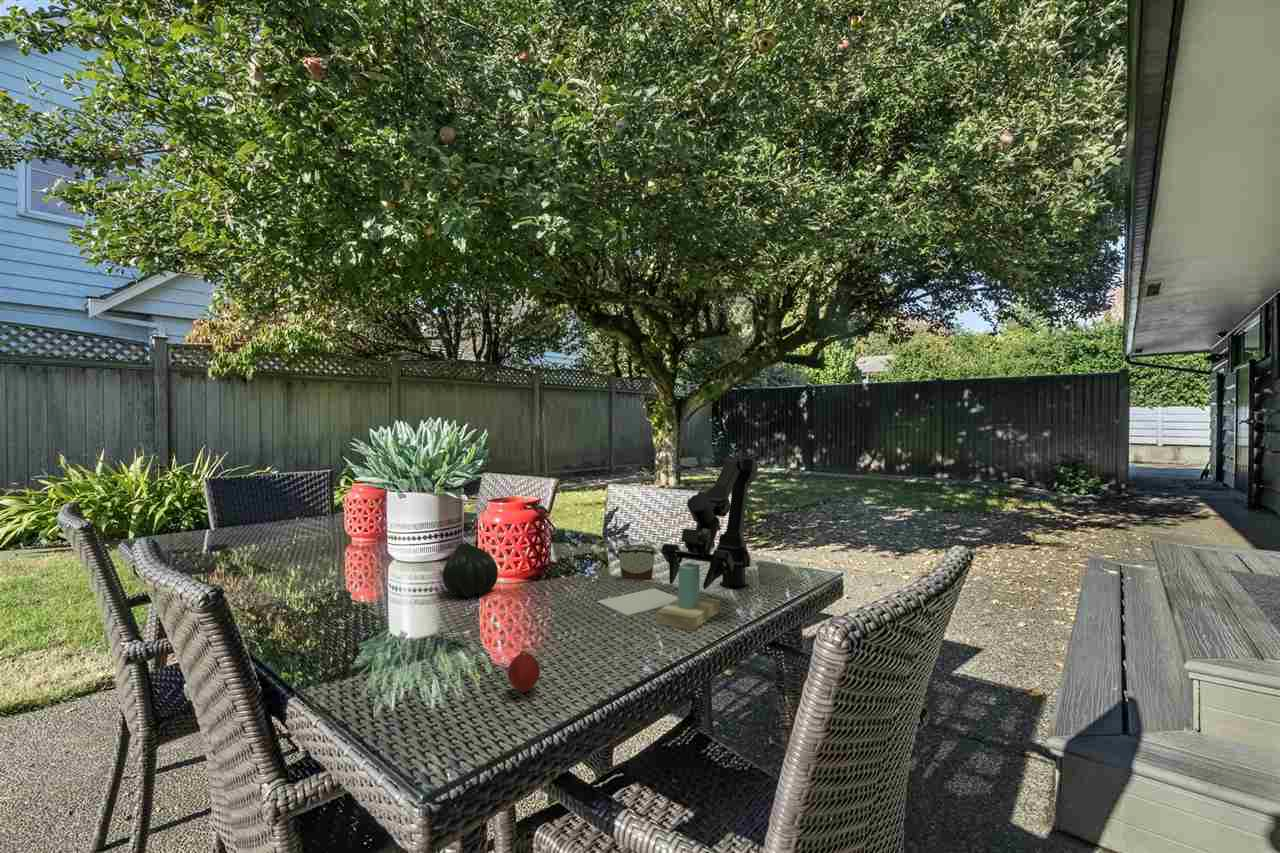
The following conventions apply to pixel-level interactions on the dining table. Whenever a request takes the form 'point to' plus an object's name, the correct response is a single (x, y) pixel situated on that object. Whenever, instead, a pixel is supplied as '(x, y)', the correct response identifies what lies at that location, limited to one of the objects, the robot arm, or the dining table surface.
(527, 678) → the onion
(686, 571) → the tall teal block
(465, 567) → the squash
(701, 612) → the plate
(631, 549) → the food container
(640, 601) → the mat
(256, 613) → the dining table surface
